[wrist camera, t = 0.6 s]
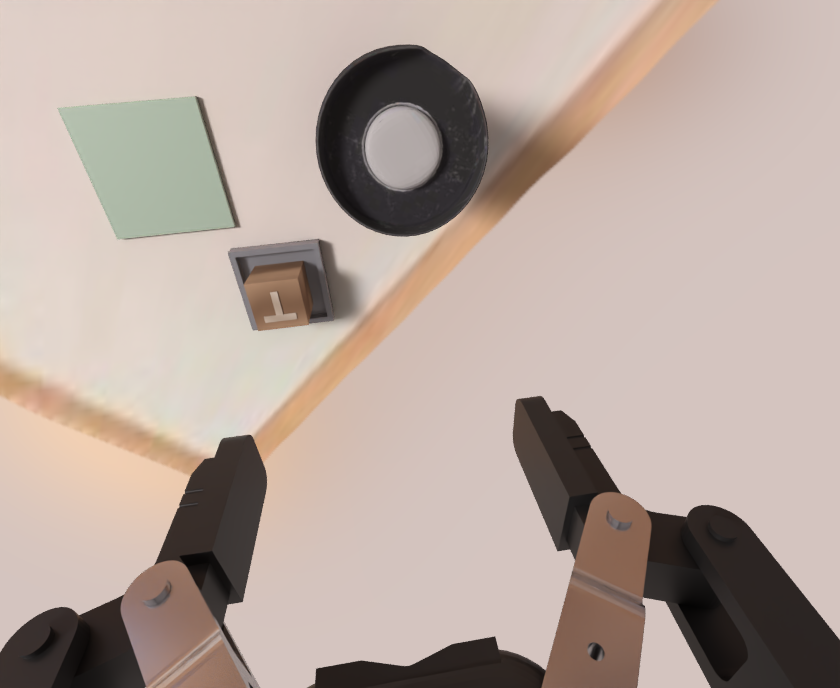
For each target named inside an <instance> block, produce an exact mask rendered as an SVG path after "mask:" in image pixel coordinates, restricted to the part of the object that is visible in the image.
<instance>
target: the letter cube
mask: <svg viewBox="0 0 840 688" xmlns="http://www.w3.org/2000/svg"><path fill="white" fill-rule="evenodd" d="M244 287H245V290H246V293H247V297H248V300H249V303H250V306H251V309H252V312H253V316H254V319H255V322H256V325H257V328H258V331H262V330H270V329H278V328H286V327H294V326H302V325H309V321H310V316H311V312H312V307H313V300H312V296H311V292H310V287H309V283H308V278H307V274H306V270H305V265H304V261H295V262H286V263H278V264H269V265H260V266H255V267H254V268H253V270H252V272H251V273H250V275H249V277H248V278H247V280H246V282H245V283H244Z"/></svg>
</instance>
